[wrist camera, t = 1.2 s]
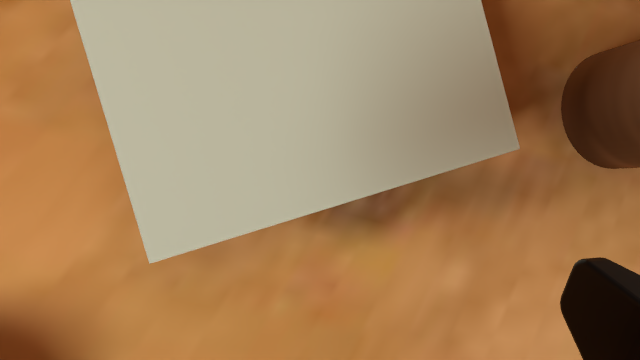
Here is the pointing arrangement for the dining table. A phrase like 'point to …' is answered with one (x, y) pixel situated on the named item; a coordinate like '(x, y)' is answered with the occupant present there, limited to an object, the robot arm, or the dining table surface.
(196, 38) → the shelf
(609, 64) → the mill
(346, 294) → the dining table surface
